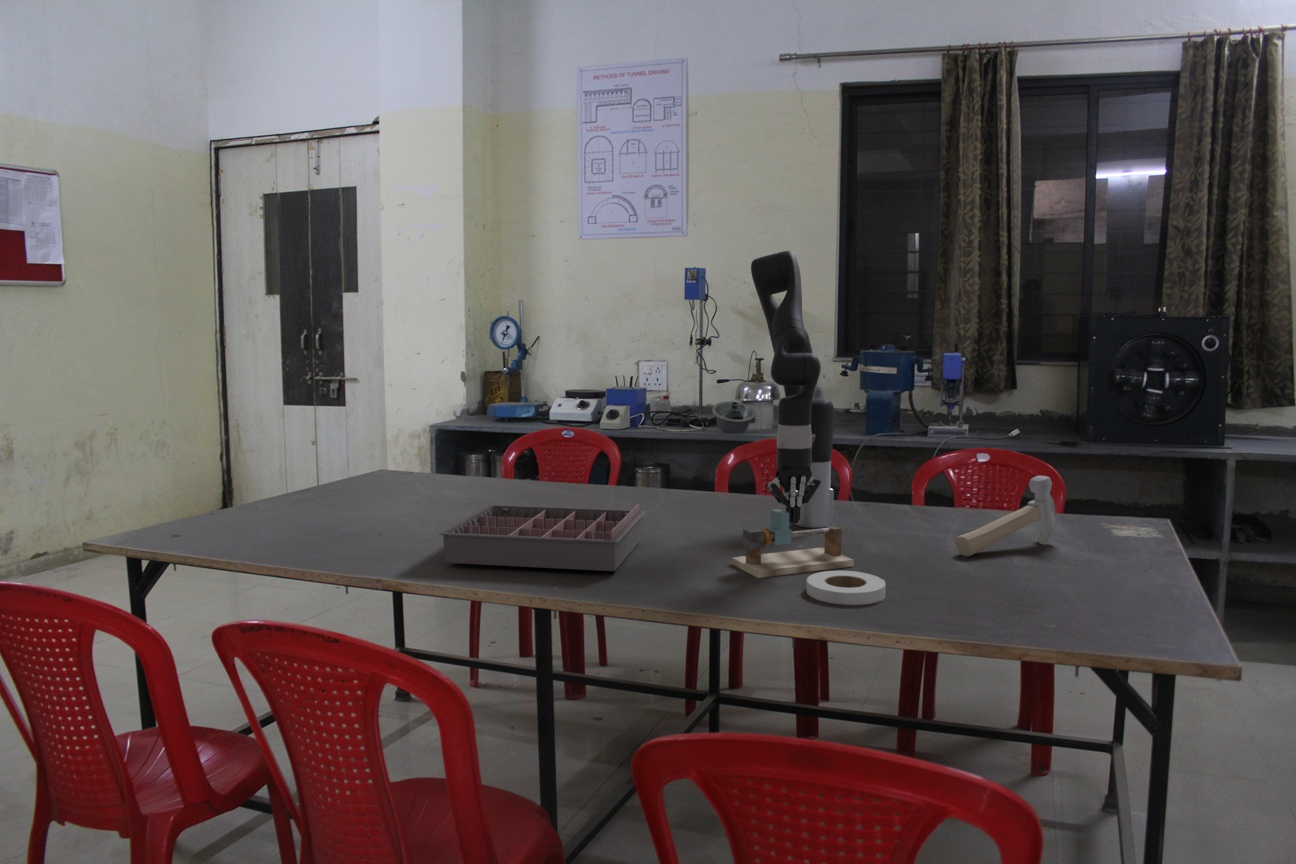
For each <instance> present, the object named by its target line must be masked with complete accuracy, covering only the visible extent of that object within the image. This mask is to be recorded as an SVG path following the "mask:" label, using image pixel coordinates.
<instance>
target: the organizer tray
mask: <svg viewBox="0 0 1296 864" xmlns="http://www.w3.org/2000/svg"><path fill="white" fill-rule="evenodd" d="M646 513H647V511H646V510H640V503H637V504H636V505H635V506H634V507H633V508H632V509H609V508H585V507H582V508H581V507H560V506H559V507H555V506H554V507H553V506H533V505H532V506H531V505H530V506H529V505H510V504H507V505H506V504H505V505H503V504H490V505H488V506H486V507H484V508H483V509H481V510H479V511H477V512H475V513H474V514H472V515H470V516H469V517H466V518H465V519H463V520H462V521H459V522H458V523H456V524H454V525H453V526H451V527H449V528H447V529H445V530H444V531H442V532H440V533H439V536H442V537H443V563H444V564H445V563H447V564H464V565H465V564H466V565H485V566H503V567H505V566H506V567H523V568H525V567H526V568H543V569H544V568H545V569H564V570H565V569H566V570H580V571H582V570H583V571H585V570H586V571H605V572H606V571H607V572H616V571H617V570H618V568H619V567H620V566H621V565H622V563H623V562H624V561H625V560H626V558H628V557H629V555H630V553H632V551H633V550H634V549H635V548H636V546H637V545H638V544H639V542H641V541H642V539H643V532H644V530H643V529H644V528H643V527H644V524H643V523H644V521H643V520H644V518H643V517H644V515H645V514H646Z"/></svg>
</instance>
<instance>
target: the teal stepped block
mask: <svg viewBox="0 0 1296 864" xmlns="http://www.w3.org/2000/svg"><path fill="white" fill-rule="evenodd" d="M767 529H768V530H769V531H770V533H771V534H774V539H771V543H770V545H771V544H772V545H774V546H782V545H790V544H792V537H791V533H792V532H793V531H792V529H791V528H790V523H789V513H788V512H786V510H782V509H779V508H777V509H771V510H770V527H767Z"/></svg>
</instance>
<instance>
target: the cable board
mask: <svg viewBox="0 0 1296 864" xmlns="http://www.w3.org/2000/svg"><path fill="white" fill-rule="evenodd" d="M842 530H843V529H842V527H838V526H836V525H834V524H833V525H829V526H825V527H821V528H813V529H812V528H811V529H804V530H795V531H792V533H791V538H795V537H806V536H807V537H808V536H816V535H824V547H814V548H813V547H812V548H805V549H804V548H803V549H795V550H787V551H780V552H779V551H778V552H771V553H770V552H769V553H762V549H764V548H765V546H769V545H771V539H774V534H771V533H770V531H769V530H768V528H767V529H766V528H765V529H763V528H762V529H759V528H757V527H751V528H743V530H742V532H743V533H742V546H744V547H745V555H743V556H733V557H731V559H730V560H731V561H730V562H731V566H734V567H736V568H738V569H739V570H741V571H744V572H745V573H747V574H749V575H751V576H753V577H755V578H757V579H761V578H769V577H778V576H785V575H792V574H802V573H810V572H811V573H812V572H818V571H829V570H832V569H833V570H834V569H841V568H843V569H844V568H851V567H854V566H855V565H854V564H855V560H854V558H850V557H848V556H846V555H844V554H842Z"/></svg>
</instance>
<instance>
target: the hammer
mask: <svg viewBox="0 0 1296 864" xmlns="http://www.w3.org/2000/svg"><path fill="white" fill-rule="evenodd" d="M1028 482H1029V483H1028V486H1029V488H1030V492H1031V493H1034V499H1032V500H1030V501H1028V502H1027V505H1025V506H1022V508H1020V509H1017V510H1015V511H1012V512H1011V513H1008V514H1006V515H1003V516H1002V517H999V518H998V519H995V520H994V521H991V522H989V523H987V524H985V525H982V526H981V527H979V528H977V529H974V530H972V531H970V532H966V533H964V534H961V535H958V536H956V539H955V546H956V547H955V548H956V549H957V551H958V553H959V554H960V555H962V556H963V557H971V556H973V555H974V554H977V553H978V552H980V551H983V550H984V549H986V548H988V547H990V546H992V545H994V544H996V543H998V542H1001V541H1003V540H1004V539H1005V538H1008V537H1009V536H1011V535H1012V534H1014V533H1016V532H1017V531H1019V530H1021V529H1023V528H1025V527H1027V526H1029V525H1030V524H1032V523H1035V527H1034V532H1033V535H1032V537H1031V540H1030V542H1033V543H1035V544H1036V543H1038V542H1039V543H1038V544H1041V545H1044V546H1046V545H1048V543H1049V542H1050V540H1051V539H1052V537H1053V535H1054V532H1055V529H1056V527H1055V526H1056V519H1057V515H1056V505H1055V504H1056V503H1055V499H1054V498H1053V497H1052V495H1051V491H1052V486H1053V482H1052V479H1051V478H1050V476H1047V475H1036V476H1034V477H1032V478H1031V479H1030V480H1029V481H1028Z"/></svg>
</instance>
